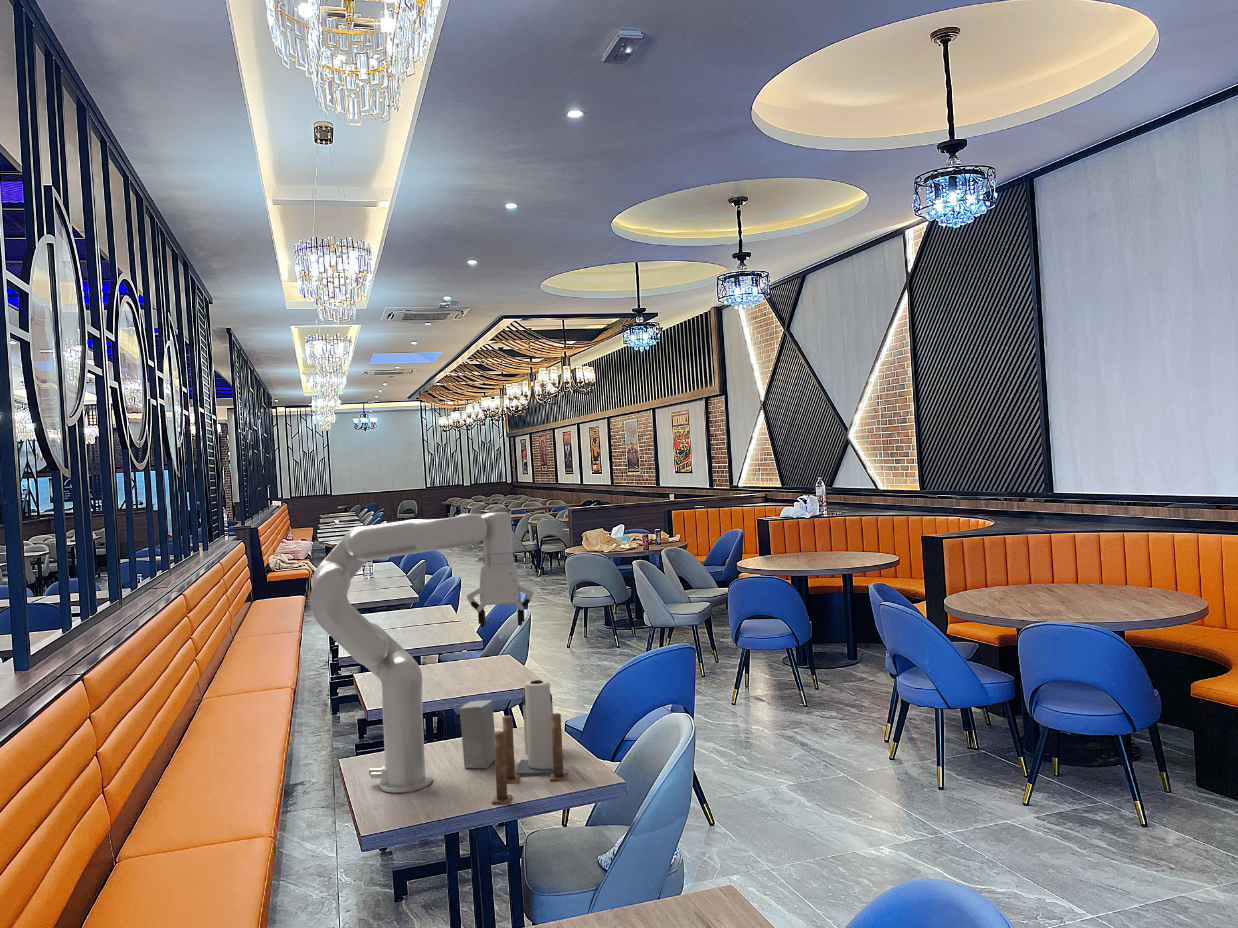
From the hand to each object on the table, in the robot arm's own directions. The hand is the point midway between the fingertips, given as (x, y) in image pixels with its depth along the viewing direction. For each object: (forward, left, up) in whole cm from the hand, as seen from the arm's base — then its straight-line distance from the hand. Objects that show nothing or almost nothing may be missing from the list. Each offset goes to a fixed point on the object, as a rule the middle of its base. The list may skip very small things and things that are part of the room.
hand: (501, 625), depth 221 cm
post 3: (+14, -10, -36) cm, 40 cm away
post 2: (+2, -10, -36) cm, 38 cm away
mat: (+8, -3, -36) cm, 37 cm away
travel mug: (+7, +11, -36) cm, 39 cm away
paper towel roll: (+9, -4, -36) cm, 37 cm away
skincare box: (-8, +3, -36) cm, 37 cm away
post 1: (+2, -23, -36) cm, 43 cm away
